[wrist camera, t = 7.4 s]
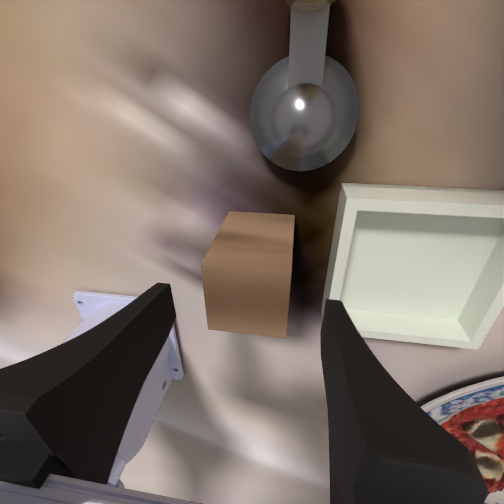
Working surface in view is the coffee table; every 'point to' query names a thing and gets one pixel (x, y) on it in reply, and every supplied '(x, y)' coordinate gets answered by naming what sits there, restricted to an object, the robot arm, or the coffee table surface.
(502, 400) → the ceramic plate
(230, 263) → the block
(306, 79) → the brass cylinder knob
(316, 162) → the disc
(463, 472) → the robot arm
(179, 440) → the coffee table surface
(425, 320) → the tray
